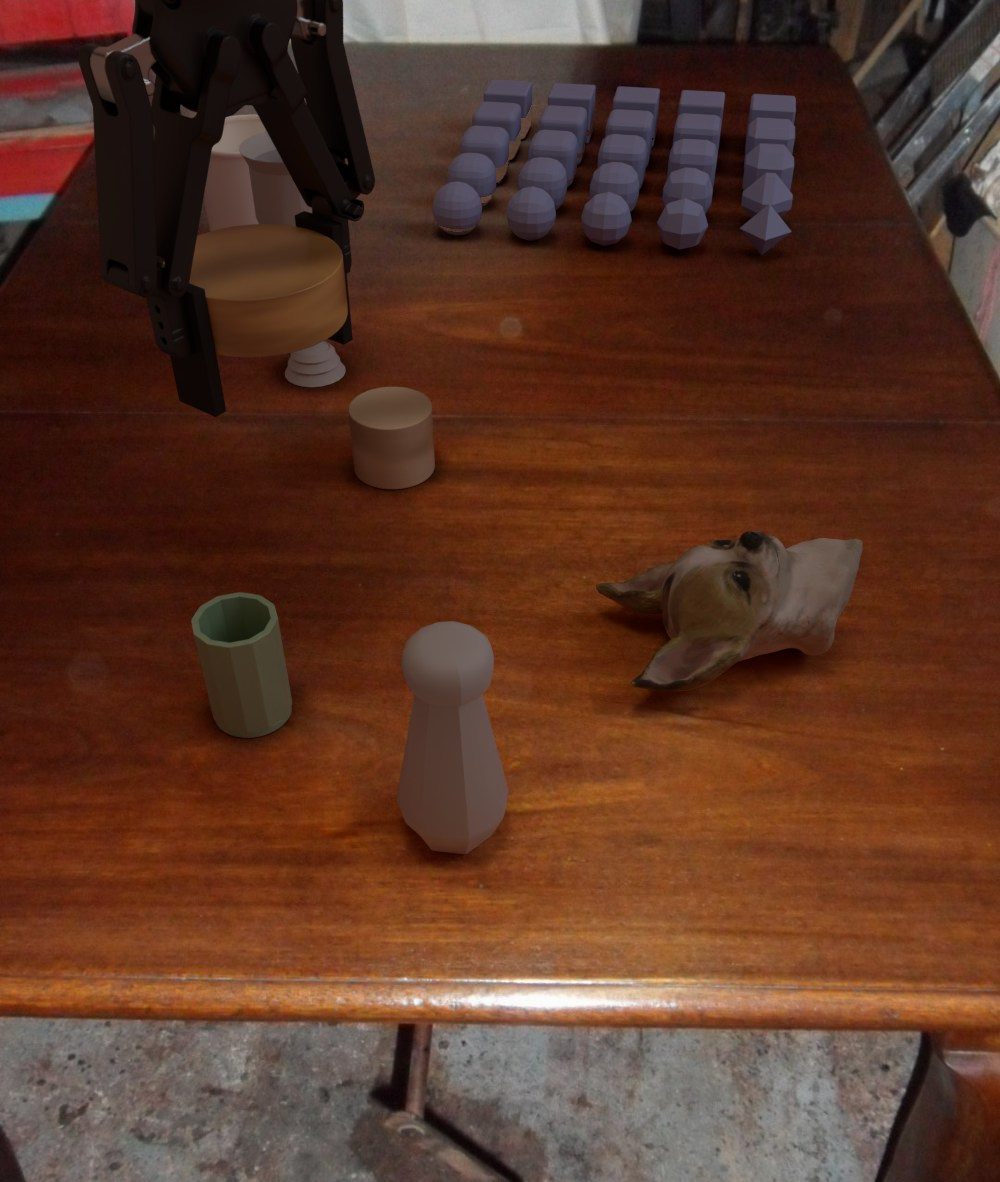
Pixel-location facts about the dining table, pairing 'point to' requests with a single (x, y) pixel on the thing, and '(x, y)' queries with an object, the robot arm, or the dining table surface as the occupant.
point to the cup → (243, 664)
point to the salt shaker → (450, 740)
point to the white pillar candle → (392, 437)
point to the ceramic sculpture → (739, 604)
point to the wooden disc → (270, 288)
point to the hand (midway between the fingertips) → (269, 369)
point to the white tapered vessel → (231, 176)
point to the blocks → (620, 163)
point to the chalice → (279, 206)
